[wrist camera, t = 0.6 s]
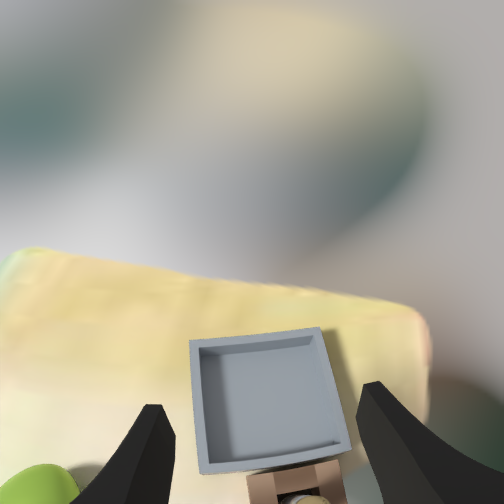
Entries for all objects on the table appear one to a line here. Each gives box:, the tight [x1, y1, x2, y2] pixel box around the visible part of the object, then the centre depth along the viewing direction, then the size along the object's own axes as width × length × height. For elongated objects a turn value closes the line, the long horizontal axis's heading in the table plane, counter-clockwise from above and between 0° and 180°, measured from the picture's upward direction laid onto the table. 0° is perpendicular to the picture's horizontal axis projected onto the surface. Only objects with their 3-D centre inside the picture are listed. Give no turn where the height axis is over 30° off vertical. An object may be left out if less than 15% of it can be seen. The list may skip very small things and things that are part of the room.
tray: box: [189, 327, 352, 475], centre depth 25 cm, size 12×12×2 cm
